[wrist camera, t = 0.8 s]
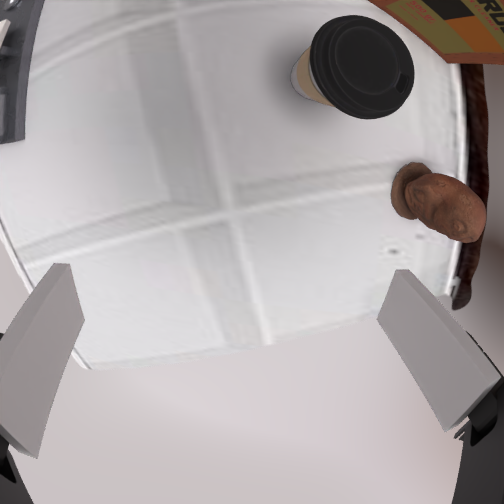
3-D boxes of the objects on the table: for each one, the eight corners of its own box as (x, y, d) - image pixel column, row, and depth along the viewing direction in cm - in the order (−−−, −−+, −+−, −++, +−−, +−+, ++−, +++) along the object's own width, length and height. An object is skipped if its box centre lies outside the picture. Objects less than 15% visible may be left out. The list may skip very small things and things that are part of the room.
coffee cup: (349, 113, 32) (423, 124, 19) (278, 115, 32) (323, 120, 19) (344, 45, 28) (415, 23, 15) (271, 42, 27) (311, 2, 14)
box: (364, -2, 24) (464, -46, 7) (379, -37, 21) (467, -80, 3) (447, 63, 29) (550, 71, 12) (457, 26, 26) (551, 24, 8)
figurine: (392, 153, 36) (470, 173, 23) (436, 168, 38) (507, 192, 25) (379, 213, 40) (449, 254, 26) (423, 221, 42) (489, 258, 28)
